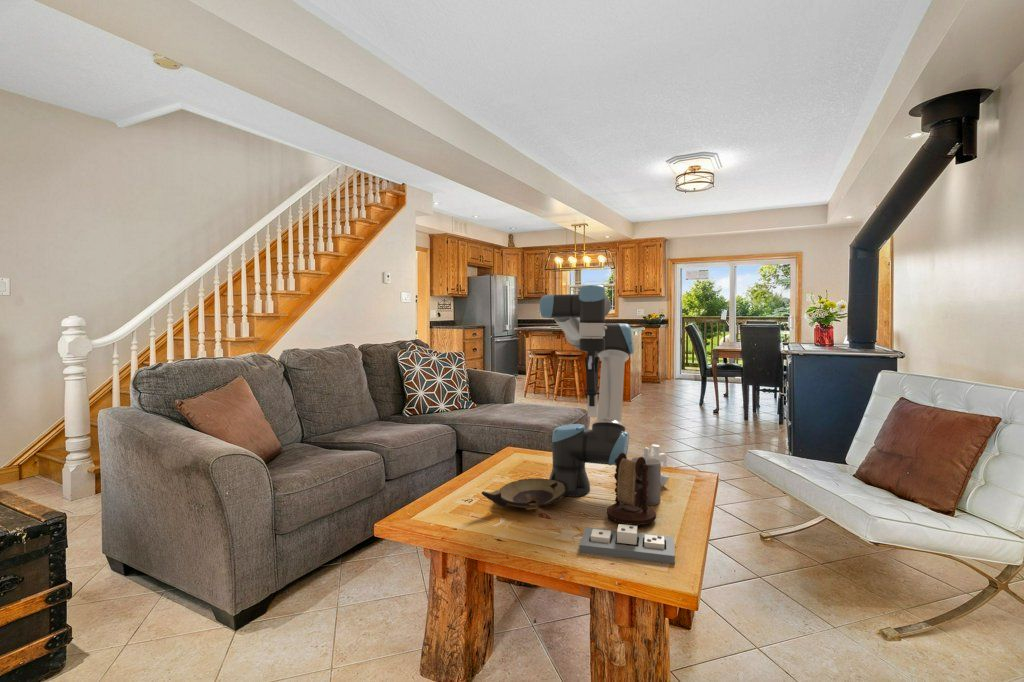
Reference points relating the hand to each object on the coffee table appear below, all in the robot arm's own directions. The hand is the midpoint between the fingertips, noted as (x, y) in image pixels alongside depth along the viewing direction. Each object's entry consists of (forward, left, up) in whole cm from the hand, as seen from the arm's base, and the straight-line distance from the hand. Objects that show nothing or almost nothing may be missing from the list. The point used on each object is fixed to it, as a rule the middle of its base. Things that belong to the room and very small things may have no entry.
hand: (592, 416), depth 151 cm
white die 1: (+4, -14, -32) cm, 35 cm away
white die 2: (+11, -14, -30) cm, 35 cm away
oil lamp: (-24, +10, -33) cm, 42 cm away
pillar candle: (+15, +24, -33) cm, 43 cm away
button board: (+11, -14, -32) cm, 37 cm away
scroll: (+11, +6, -33) cm, 35 cm away
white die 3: (+18, -14, -32) cm, 40 cm away
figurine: (+18, +41, -33) cm, 55 cm away
